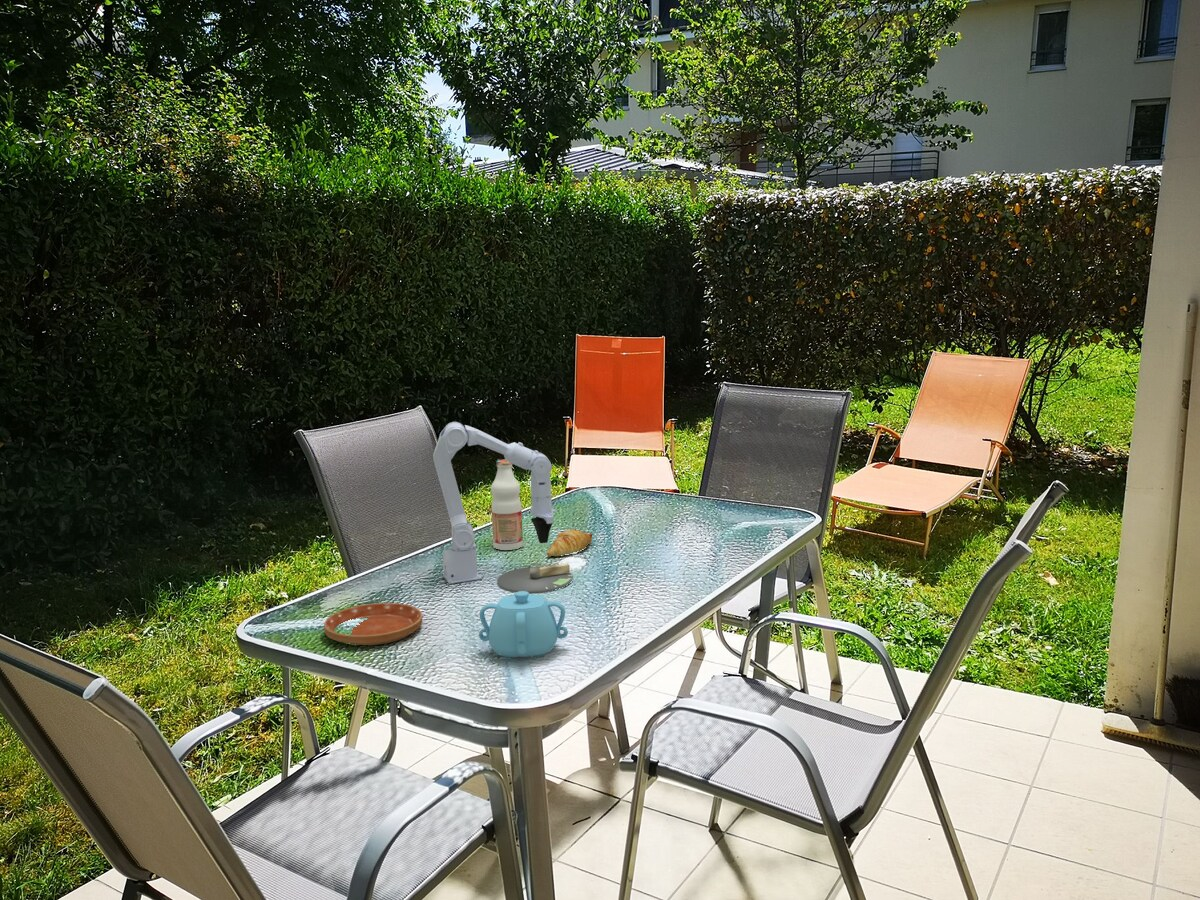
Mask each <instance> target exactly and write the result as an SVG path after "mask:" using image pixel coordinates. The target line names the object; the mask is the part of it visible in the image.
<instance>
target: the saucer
mask: <svg viewBox="0 0 1200 900" xmlns="http://www.w3.org/2000/svg"><path fill="white" fill-rule="evenodd" d="M365 617H366V618H367V617H369V618H368V619H367V620H364V621H363V622H361V623H359V624H360V625H356V626H357V627H354V628H353V630H352V633H351V634H352V635H345V634H340V633H336V632H334V629H335V628H336V627H337V626H338V625H339V624H341V623H343V622H345V621H348V620H350V619H351V620H352V619H356V618H365ZM422 624H423V612H422V611H421V610H420V609H418V608H417V607H415V606H412V605H408V604H404V603H395V602H394V603H393V602H381V603H380V602H379V603H377V602H376V603H366V604H361V605H356V606H352V607H348V608H345V609H343V610H339V611H337V612H335V613H333V614H332V615H330V616H329V617H327V618H326V620H325V621H324V623H323V628H324V634H325V635H326V637H328V638H329V639H331V640H334V641H336V642H338V641H340V642H344V643H350V644H356V645H371V646H378V644H380V645H385V644H389V643H394V642H396V641H399V640H402V639H404V638H406V637H408V636H410V635H411V634H413V633H414V632H416V631H417V630H418V629H419V628H420V627H421V626H422ZM340 642H339V643H340ZM356 645H355V646H356Z"/></svg>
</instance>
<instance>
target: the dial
mask: <svg viewBox="0 0 1200 900" xmlns="http://www.w3.org/2000/svg"><path fill="white" fill-rule="evenodd" d="M532 567H533V566H532ZM532 567H531V566H530V567H528V566H527V567H521V568H517V569H512V570H509V571H507V572H504V573H502V574H500V575H499V576H498V577H497V581H496V583H497V586H498V587H499V588H500V589H502V590H504V591H507V592H512V593H516V592H519V591H526V592H529V594H541V593H543V592H544V593H549V592H548V591H550V592H553V591H552V590H555V589H559V588H562V587H564V586H566V585H567V584H569V583H570V582H571V581H572V579H573V580H574V575H573V574H572V573H571V572H570V573H563V574H556V575H550V576H543V577H539V578H530V568H532ZM538 567H539V568H540V567H541V566H538ZM572 582H573V581H572ZM566 587H567V586H566ZM564 588H565V587H564ZM562 589H563V588H562ZM559 590H560V589H559ZM555 591H556V590H555ZM544 593H543V594H544Z"/></svg>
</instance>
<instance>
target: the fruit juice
mask: <svg viewBox="0 0 1200 900" xmlns="http://www.w3.org/2000/svg"><path fill="white" fill-rule="evenodd" d="M495 463H496V468H497V471H496V475H495V478H494V480H493V481H492V484H490V485H491V486H490V491H491V495H492V501H491V526H492V527H491V528H492V545H493V549H494V548H496V549H500V550H512V549H517V548H520V547H522V548H523V546H524V537H523V532H524V531H523V515H522V514H523V513H522V510H523V508H522V502H521V499H520V493H521V485H520V483H519V481H518V480H517V479H516V477H515V474H514V471H513V467H512V466H513V464H512V463H510V462H508V461H506V460H505V458H504V459H499V460H496V462H495ZM522 545H523V546H522ZM496 549H495V550H496ZM520 549H521V548H520Z"/></svg>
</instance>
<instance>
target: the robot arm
mask: <svg viewBox="0 0 1200 900" xmlns="http://www.w3.org/2000/svg"><path fill="white" fill-rule="evenodd" d="M466 444H467V446H468V447H471V446H477V445H479V446H481V447H485V448H487V449H489V450H491V451H494V452H496V453H499V454H501V455H503V457H504V459H505V460H506V461H508V462H510V463H512V465H515V466H517V467H519V468H521V469H523V470H525V471H526V470H530V492H531V493H530V495H531V506H530V513H531V516H533V517H532V518H531V519H530V521H531V522H532V524H533V527H534V529H535V533H536V535H537V539H538V542H539V544H546V543H549V542H548V541H549V535H550V532H551V528H552V525H554V523H555V516H554V515H553V514H556V513H557V510H556V509H554V508H553V507H552V506H553V503H552V482H551V481H552V480H551V472H552V468H553V465H552V463H551V461H550V460H549V457H548V456H546V455H545V454H544V453H542V452H539V451H538V450H536V449H534V450H533V449H531V448H528V447H525V446H524V444H523V442H520V441H518V443H517V442H515V441H514V442H511V443H506V442H504V441H502V440H500V439H498V438H496V437H494V436H492V435H490V434H488V433H486V432H484V431H482V430H479V429H477V428H476V427H472V426H470V425H466V424H464V425H463V424H462V423H461V422H458V421H452V422H449V423H447V424H446V425H445V426H444V428H443V429H442V430H441V432H440V433H439V437H438V440H437V443H436V445H435V449H434V450H433V451H434V452H433V454H432V458H433V460H432V461H433V464H434V467H435V471H436V475H437V478H438V481H439V485H440V488H441V492H442V496H443V500H444V503H445V506H446V510H447V514H448V516H449V521H450V525H451V529H450V534H451V542H452V543H451V544H450V546H449V548H448V549H443V551H442V570H443V571H442V573H443V574H442V577H443V576H444V577H443V579H445V581H446V582H447V583H448V584H455V583H456V584H457V583H464V582H471V581H476V580H482V579H483V577H482V576H481V574H480V573H479V572H478V557H477V556H478V553H477V552H478V551H477V544H476V543H475V541H476V536H475V534H474V527H473V525H472V524H471V523H470V522H469V521H468V519H467V516H466V515H467V514H466V511H465V508H464V506H463V502H462V501H463V500H462V497H461V493H460V490H459V487H458V483H457V480H456V476H455V471H454V468H453V466H452V465H453V464H452V459H453V458H454V457H455V455H456V453H457V452H458V451H460V450H461V449H462V448H463V447H465V445H466Z"/></svg>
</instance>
